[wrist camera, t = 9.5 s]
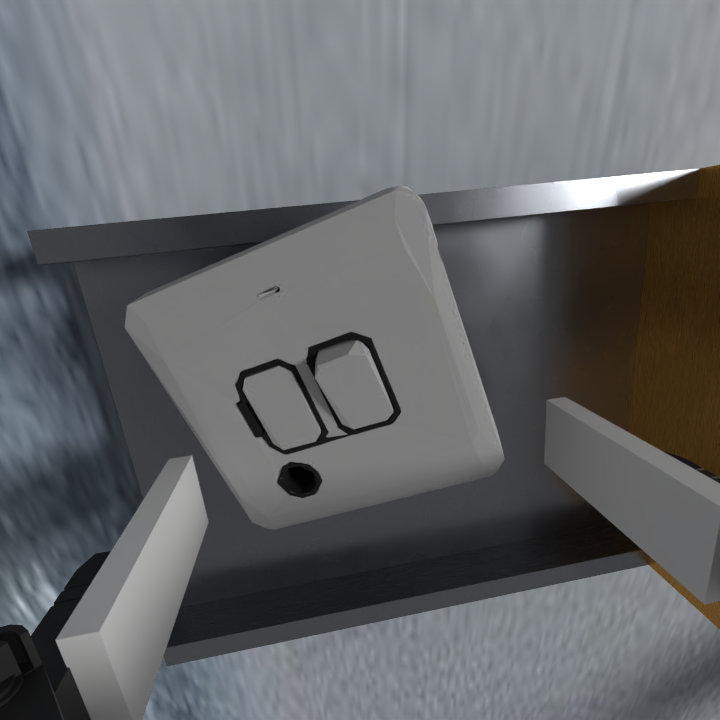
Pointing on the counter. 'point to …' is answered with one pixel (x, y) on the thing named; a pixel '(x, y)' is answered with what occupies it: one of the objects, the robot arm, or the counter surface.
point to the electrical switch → (325, 365)
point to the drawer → (500, 382)
